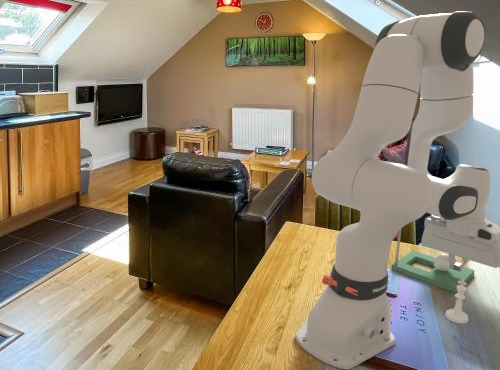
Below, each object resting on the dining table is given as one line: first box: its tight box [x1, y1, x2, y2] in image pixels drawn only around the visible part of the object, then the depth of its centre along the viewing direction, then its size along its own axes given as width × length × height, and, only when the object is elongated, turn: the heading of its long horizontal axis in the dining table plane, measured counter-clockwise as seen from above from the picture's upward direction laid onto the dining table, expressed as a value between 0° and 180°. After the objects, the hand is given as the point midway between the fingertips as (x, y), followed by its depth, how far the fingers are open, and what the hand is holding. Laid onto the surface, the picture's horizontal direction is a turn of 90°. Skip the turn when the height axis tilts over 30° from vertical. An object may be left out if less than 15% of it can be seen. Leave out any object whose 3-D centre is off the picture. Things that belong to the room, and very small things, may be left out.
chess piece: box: [445, 279, 469, 324], centre depth 89 cm, size 5×5×10 cm
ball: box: [433, 253, 452, 271], centre depth 109 cm, size 5×5×5 cm
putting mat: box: [391, 227, 476, 294], centre depth 109 cm, size 17×18×14 cm
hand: (457, 269), depth 106 cm, fingers closed
